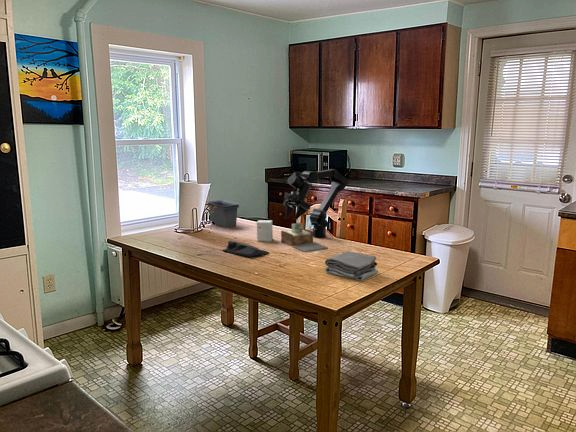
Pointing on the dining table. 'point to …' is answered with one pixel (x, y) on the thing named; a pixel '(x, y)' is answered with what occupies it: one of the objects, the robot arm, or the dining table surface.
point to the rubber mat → (309, 247)
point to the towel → (352, 265)
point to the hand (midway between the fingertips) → (290, 219)
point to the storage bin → (223, 212)
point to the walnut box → (296, 238)
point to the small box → (264, 230)
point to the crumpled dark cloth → (244, 249)
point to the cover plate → (298, 230)
